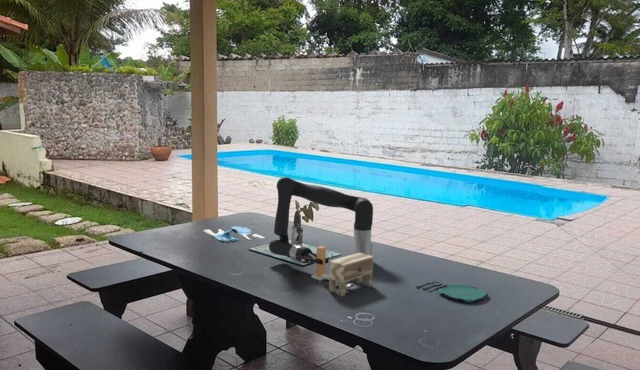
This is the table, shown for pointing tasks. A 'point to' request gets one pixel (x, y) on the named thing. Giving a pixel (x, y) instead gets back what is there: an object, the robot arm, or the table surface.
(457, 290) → the cutlery set
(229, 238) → the rubber gloves
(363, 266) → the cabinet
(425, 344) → the table surface
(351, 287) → the steel disc
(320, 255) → the orange post on base
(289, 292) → the table surface
